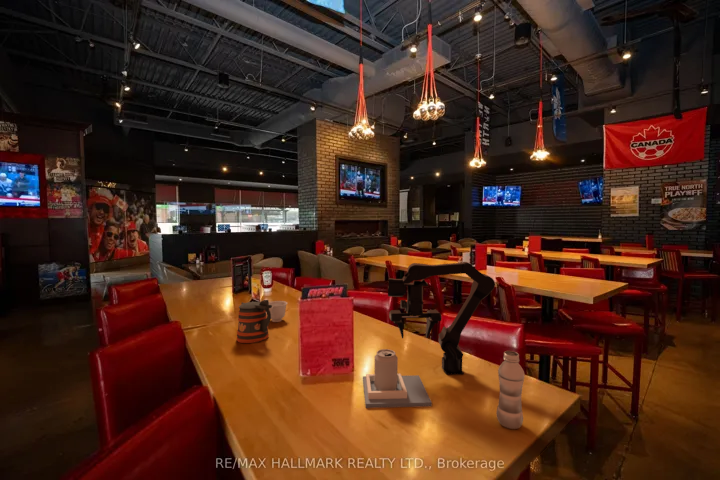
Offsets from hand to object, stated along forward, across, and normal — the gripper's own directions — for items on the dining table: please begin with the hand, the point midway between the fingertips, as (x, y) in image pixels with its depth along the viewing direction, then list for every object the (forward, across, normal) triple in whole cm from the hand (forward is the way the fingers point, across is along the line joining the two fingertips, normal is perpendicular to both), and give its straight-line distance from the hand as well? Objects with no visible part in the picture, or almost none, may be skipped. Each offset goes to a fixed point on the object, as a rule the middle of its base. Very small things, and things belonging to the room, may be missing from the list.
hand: (414, 337), depth 119 cm
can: (+11, +13, +16) cm, 23 cm away
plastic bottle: (+12, -19, +34) cm, 41 cm away
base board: (+12, +10, +16) cm, 22 cm away
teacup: (+12, +66, -61) cm, 91 cm away
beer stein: (+12, +69, -34) cm, 78 cm away
